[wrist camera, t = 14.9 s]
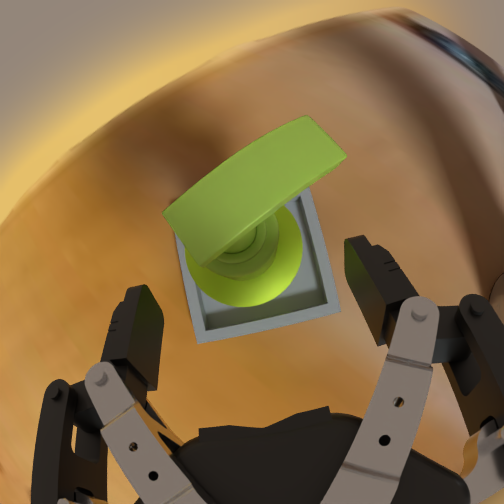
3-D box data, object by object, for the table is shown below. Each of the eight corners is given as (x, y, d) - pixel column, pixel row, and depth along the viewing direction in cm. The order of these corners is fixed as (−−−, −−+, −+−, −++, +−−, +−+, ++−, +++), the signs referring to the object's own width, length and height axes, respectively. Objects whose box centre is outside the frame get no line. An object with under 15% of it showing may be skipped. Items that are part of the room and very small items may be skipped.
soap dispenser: (308, 267, 27) (399, 202, 7) (249, 313, 27) (196, 364, 7) (269, 218, 28) (266, 68, 8) (211, 262, 28) (89, 195, 8)
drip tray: (305, 191, 29) (307, 183, 27) (335, 310, 27) (341, 311, 25) (179, 221, 29) (172, 215, 27) (203, 339, 28) (197, 343, 25)
